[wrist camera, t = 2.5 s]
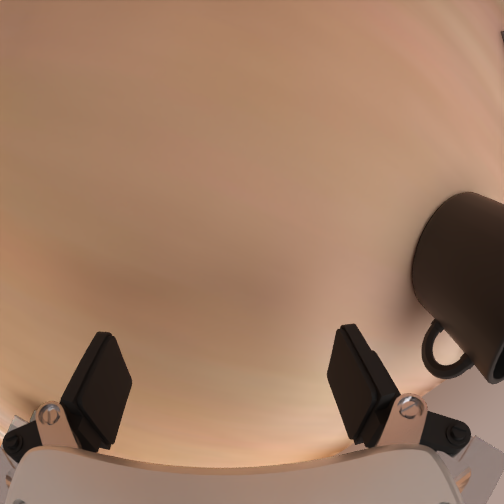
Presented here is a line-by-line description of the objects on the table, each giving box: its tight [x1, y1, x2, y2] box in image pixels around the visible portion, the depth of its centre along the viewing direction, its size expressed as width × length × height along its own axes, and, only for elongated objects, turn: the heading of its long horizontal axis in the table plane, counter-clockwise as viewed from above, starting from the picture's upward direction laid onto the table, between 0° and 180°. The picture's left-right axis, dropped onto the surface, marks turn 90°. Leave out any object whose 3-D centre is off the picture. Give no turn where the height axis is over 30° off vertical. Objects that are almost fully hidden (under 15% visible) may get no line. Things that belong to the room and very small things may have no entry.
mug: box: [412, 192, 504, 384], centre depth 12 cm, size 9×12×9 cm
